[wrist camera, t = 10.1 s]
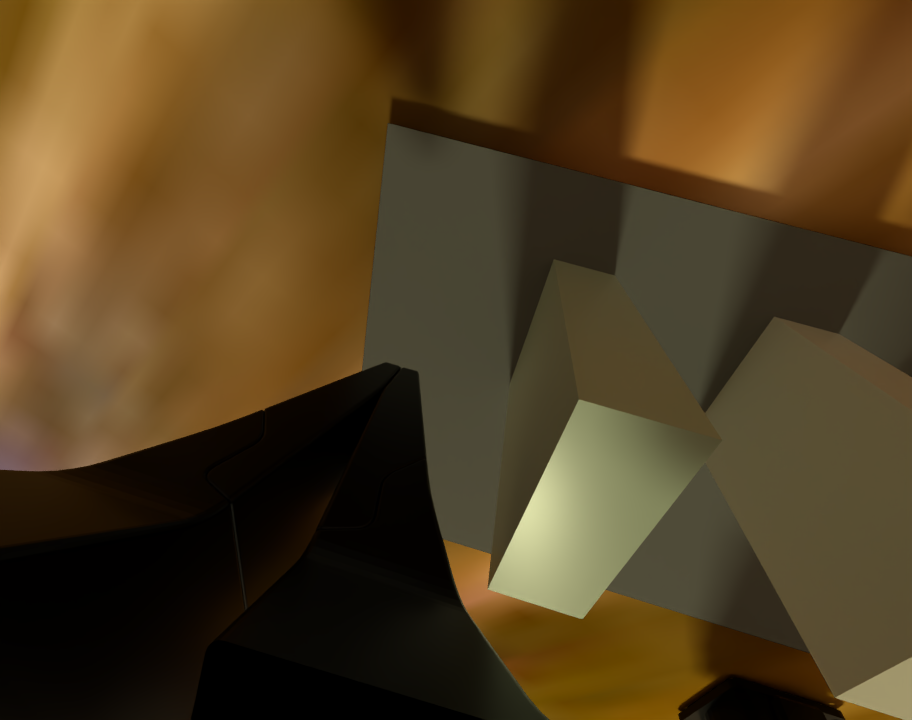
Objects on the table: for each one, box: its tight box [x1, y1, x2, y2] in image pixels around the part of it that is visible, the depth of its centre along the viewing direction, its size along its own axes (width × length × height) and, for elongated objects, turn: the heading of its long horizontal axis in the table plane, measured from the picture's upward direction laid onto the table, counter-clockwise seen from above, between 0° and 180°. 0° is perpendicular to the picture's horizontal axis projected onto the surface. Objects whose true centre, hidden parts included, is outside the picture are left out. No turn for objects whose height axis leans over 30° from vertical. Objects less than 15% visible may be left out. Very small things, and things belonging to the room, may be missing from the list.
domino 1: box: [488, 259, 722, 619], centre depth 10 cm, size 5×2×8 cm, turn 168°
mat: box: [362, 123, 912, 653], centre depth 15 cm, size 18×32×1 cm, turn 78°
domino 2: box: [705, 317, 912, 720], centre depth 9 cm, size 5×2×8 cm, turn 168°
